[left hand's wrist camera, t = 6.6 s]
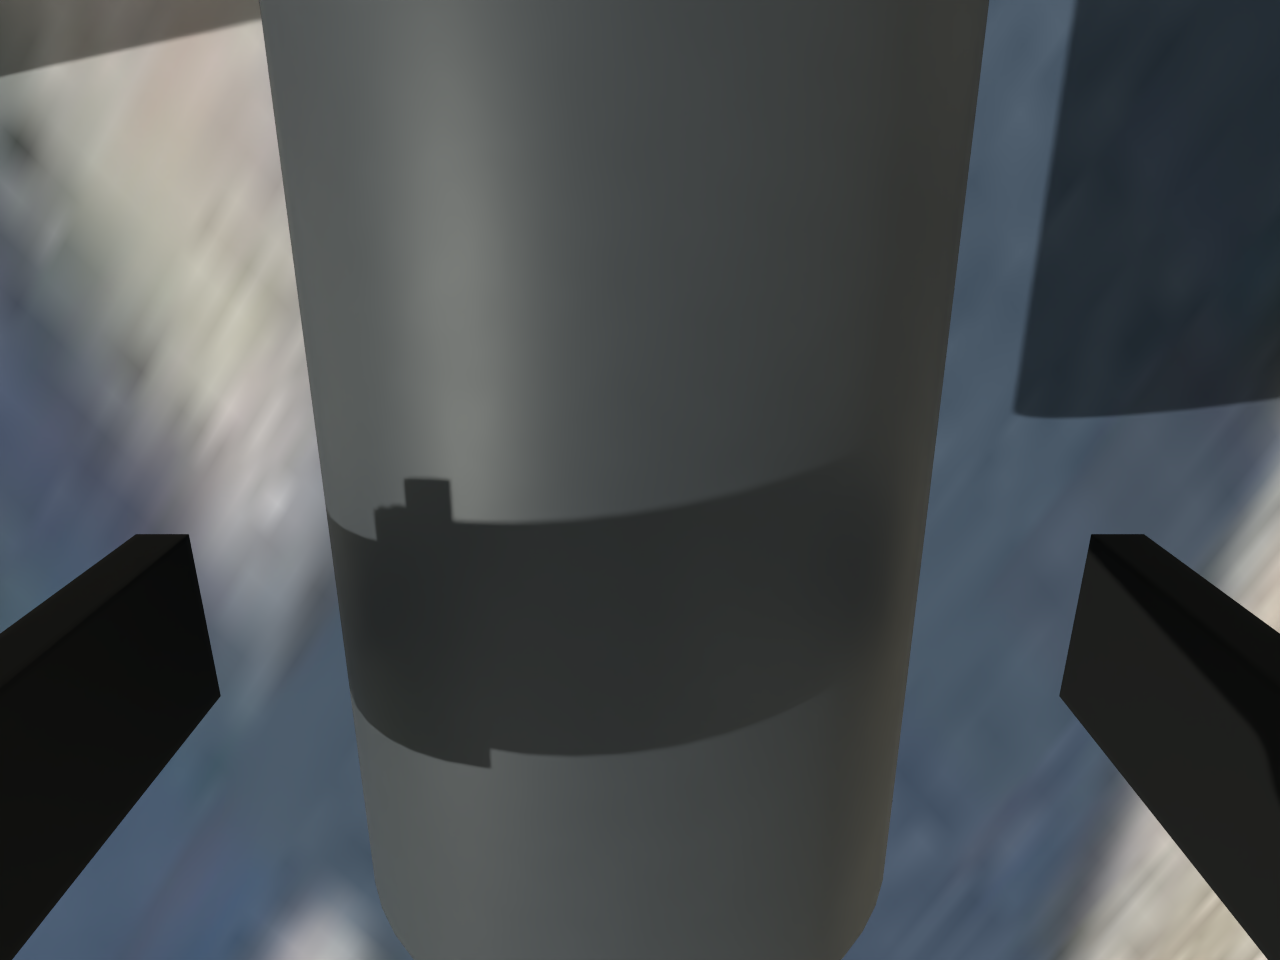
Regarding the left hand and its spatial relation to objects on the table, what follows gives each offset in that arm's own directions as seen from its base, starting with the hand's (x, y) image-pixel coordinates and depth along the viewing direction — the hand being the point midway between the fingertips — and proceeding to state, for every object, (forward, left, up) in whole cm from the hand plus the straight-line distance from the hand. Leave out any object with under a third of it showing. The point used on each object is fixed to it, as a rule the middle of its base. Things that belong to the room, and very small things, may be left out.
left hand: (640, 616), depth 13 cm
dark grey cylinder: (+7, +4, -6) cm, 10 cm away
